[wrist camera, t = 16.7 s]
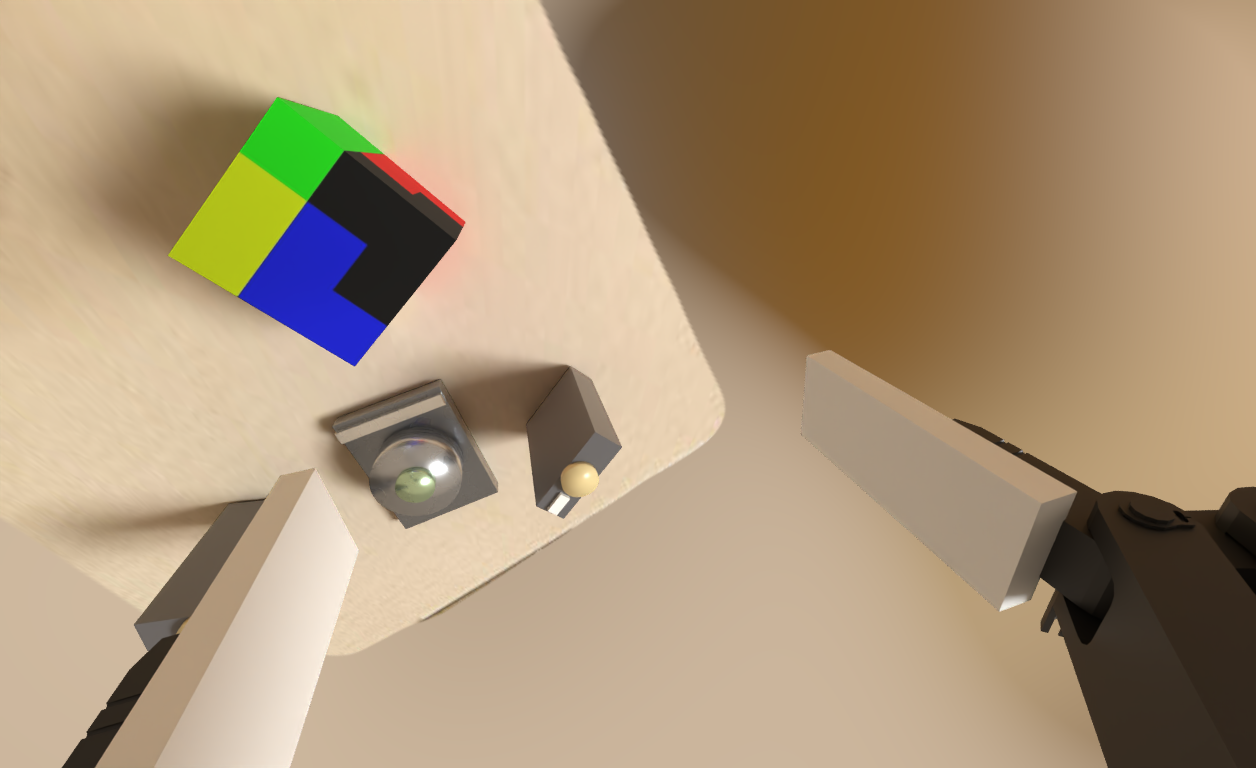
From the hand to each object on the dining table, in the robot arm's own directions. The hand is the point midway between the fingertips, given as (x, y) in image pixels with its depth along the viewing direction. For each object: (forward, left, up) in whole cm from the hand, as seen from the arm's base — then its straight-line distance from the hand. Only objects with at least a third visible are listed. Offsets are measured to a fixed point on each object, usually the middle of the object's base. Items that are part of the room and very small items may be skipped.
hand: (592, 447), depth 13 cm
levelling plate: (+13, -15, -29) cm, 35 cm away
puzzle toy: (-6, -10, -29) cm, 32 cm away
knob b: (+13, -2, -29) cm, 32 cm away
